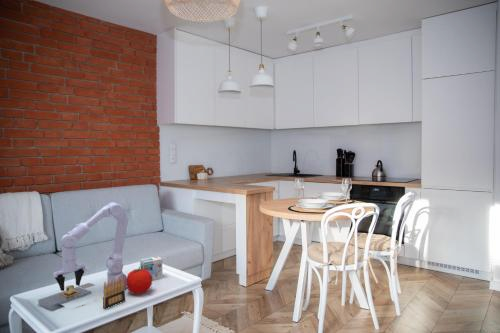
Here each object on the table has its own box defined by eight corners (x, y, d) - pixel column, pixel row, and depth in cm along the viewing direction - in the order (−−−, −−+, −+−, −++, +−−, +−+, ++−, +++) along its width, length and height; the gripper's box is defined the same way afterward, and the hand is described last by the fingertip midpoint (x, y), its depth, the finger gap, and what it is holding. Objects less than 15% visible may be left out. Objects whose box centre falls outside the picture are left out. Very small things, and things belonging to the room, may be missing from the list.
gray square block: (95, 287, 190) (95, 284, 190) (84, 291, 185) (84, 288, 185) (88, 285, 193) (88, 282, 193) (78, 289, 188) (77, 286, 188)
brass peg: (75, 298, 176) (75, 286, 176) (68, 300, 173) (67, 288, 173) (72, 296, 178) (71, 284, 178) (65, 299, 176) (64, 286, 175)
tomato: (145, 285, 191) (144, 263, 191) (157, 292, 181) (156, 269, 181) (122, 291, 183) (121, 269, 183) (133, 299, 173) (132, 275, 173)
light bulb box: (144, 282, 197) (143, 262, 196) (140, 278, 202) (139, 259, 202) (163, 278, 203) (162, 258, 202) (159, 274, 208) (158, 255, 208)
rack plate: (91, 296, 178) (91, 291, 178) (52, 311, 163) (51, 304, 162) (77, 291, 185) (77, 286, 185) (38, 305, 169) (38, 299, 169)
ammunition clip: (105, 309, 163) (104, 282, 163) (102, 308, 164) (101, 282, 164) (125, 300, 172) (124, 275, 172) (122, 300, 173) (121, 274, 173)
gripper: (78, 254, 183) (79, 281, 184) (49, 262, 171) (50, 291, 172) (86, 256, 179) (88, 284, 180) (57, 264, 167) (58, 294, 168)
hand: (70, 287), depth 176 cm, fingers open, 7 cm apart
